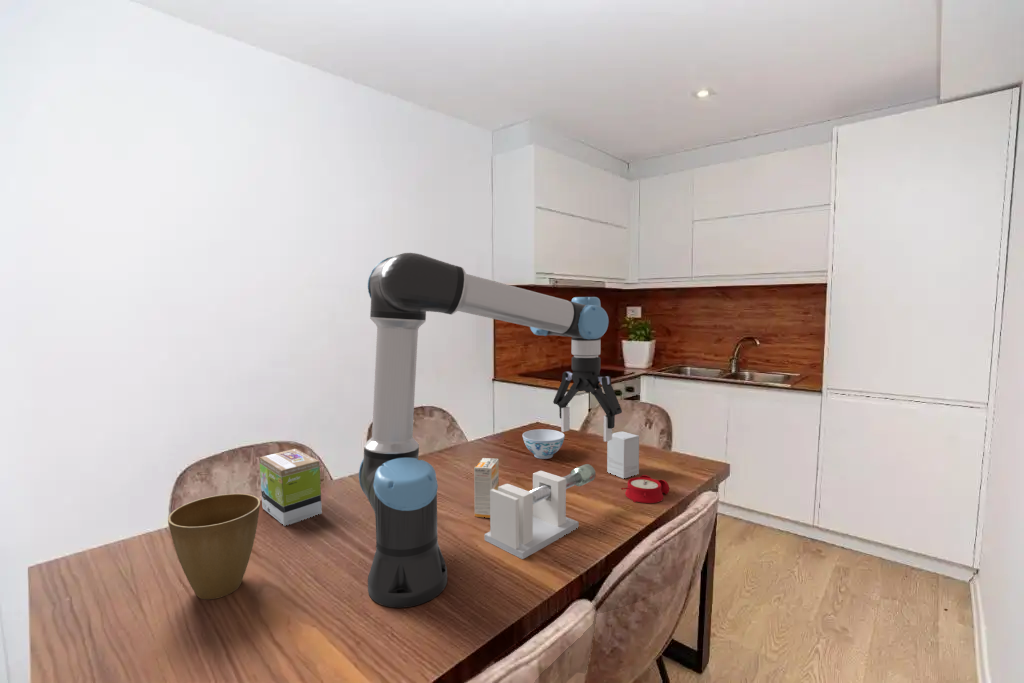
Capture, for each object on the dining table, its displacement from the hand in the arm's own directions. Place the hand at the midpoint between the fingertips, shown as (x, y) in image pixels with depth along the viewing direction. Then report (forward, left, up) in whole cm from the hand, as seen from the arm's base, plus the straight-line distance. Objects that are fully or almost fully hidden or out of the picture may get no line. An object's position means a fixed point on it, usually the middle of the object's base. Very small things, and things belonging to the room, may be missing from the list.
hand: (585, 435), depth 127 cm
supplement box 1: (-20, +17, -20) cm, 33 cm away
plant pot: (-79, +29, -20) cm, 87 cm away
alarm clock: (+19, -8, -20) cm, 29 cm away
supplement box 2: (+29, +6, -20) cm, 35 cm away
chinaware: (+25, +36, -20) cm, 48 cm away
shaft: (-10, 0, -13) cm, 16 cm away
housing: (-21, 0, -20) cm, 29 cm away
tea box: (-56, +54, -20) cm, 80 cm away
